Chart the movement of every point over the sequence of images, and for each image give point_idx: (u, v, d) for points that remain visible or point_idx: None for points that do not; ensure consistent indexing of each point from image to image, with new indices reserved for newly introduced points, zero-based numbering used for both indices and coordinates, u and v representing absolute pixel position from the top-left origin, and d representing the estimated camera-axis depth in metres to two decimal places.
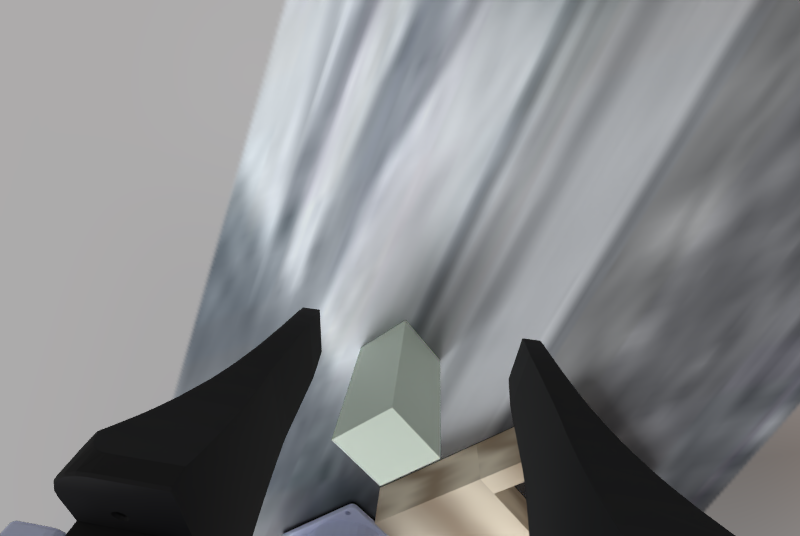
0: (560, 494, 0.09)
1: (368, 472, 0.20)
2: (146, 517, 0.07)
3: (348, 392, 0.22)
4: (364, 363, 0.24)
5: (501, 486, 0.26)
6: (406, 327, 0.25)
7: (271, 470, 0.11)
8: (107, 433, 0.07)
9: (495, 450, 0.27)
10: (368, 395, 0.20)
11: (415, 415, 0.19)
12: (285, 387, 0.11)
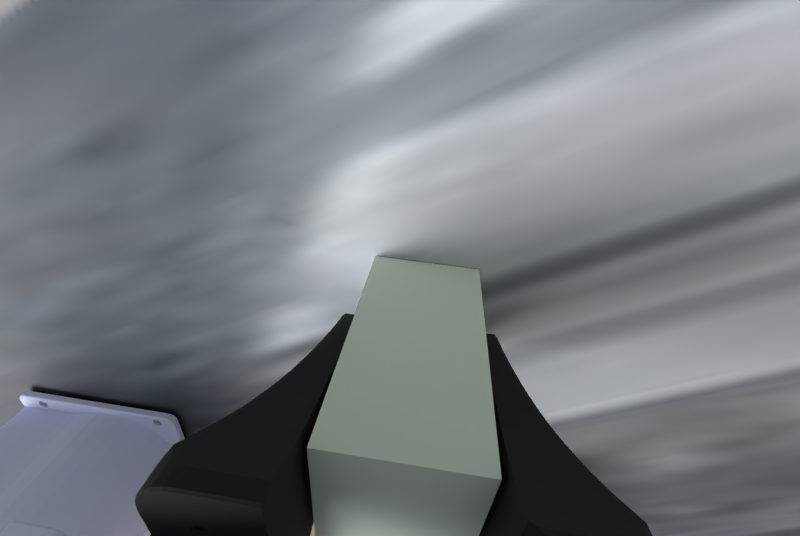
0: None
1: (318, 516, 0.09)
2: (227, 532, 0.07)
3: (352, 338, 0.11)
4: (390, 297, 0.12)
5: None
6: None
7: None
8: (184, 446, 0.07)
9: None
10: (414, 387, 0.09)
11: None
12: None
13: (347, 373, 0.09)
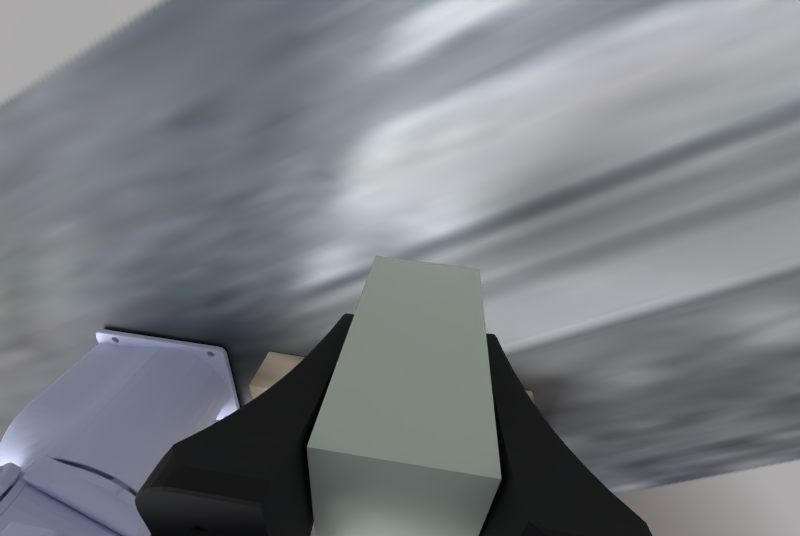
0: None
1: (318, 515, 0.09)
2: (227, 532, 0.07)
3: (352, 337, 0.11)
4: (390, 296, 0.12)
5: None
6: None
7: None
8: (184, 446, 0.07)
9: None
10: (414, 386, 0.09)
11: None
12: None
13: (347, 372, 0.09)
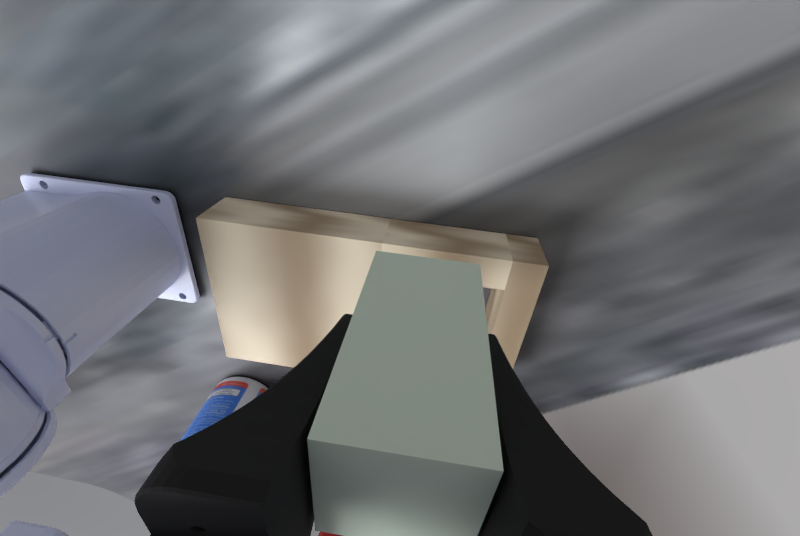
0: None
1: (318, 509, 0.09)
2: (227, 532, 0.07)
3: (353, 331, 0.10)
4: (391, 291, 0.12)
5: None
6: None
7: None
8: (184, 446, 0.07)
9: (415, 232, 0.20)
10: (415, 379, 0.09)
11: None
12: None
13: (348, 365, 0.09)
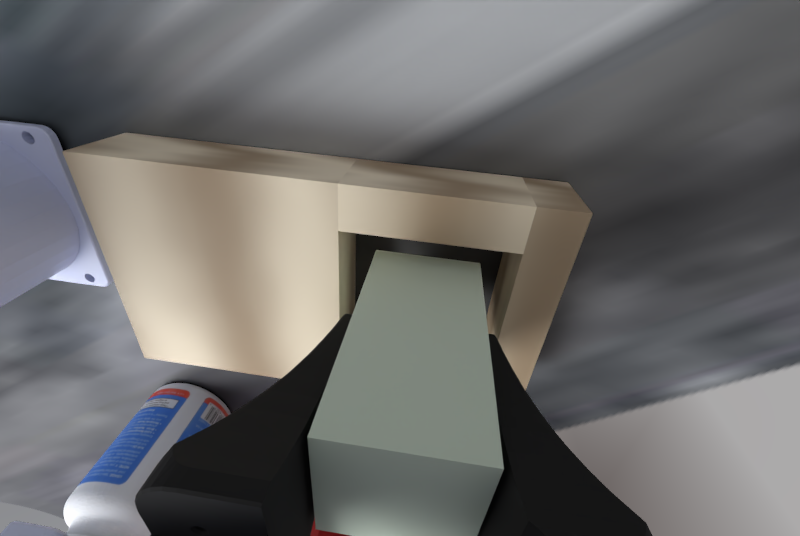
0: None
1: (318, 508, 0.09)
2: (227, 532, 0.07)
3: (353, 329, 0.10)
4: (391, 289, 0.12)
5: (362, 224, 0.13)
6: None
7: None
8: (184, 445, 0.07)
9: (390, 172, 0.14)
10: (415, 377, 0.09)
11: None
12: None
13: (348, 364, 0.09)
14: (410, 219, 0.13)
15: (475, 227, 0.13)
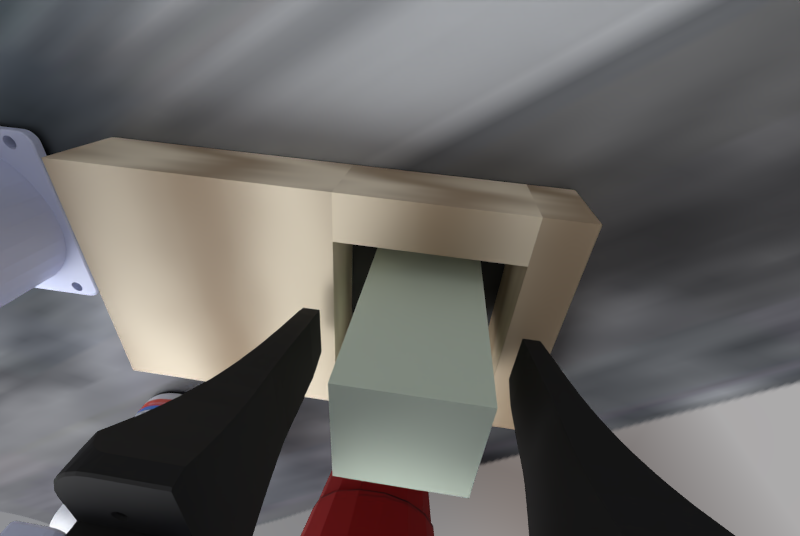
0: (560, 494, 0.09)
1: (335, 453, 0.10)
2: (146, 517, 0.07)
3: (364, 300, 0.12)
4: (397, 267, 0.13)
5: (357, 234, 0.12)
6: None
7: (271, 470, 0.11)
8: (107, 433, 0.07)
9: (387, 180, 0.13)
10: (420, 338, 0.10)
11: None
12: (285, 387, 0.11)
13: (360, 327, 0.11)
14: (408, 230, 0.12)
15: (477, 238, 0.12)
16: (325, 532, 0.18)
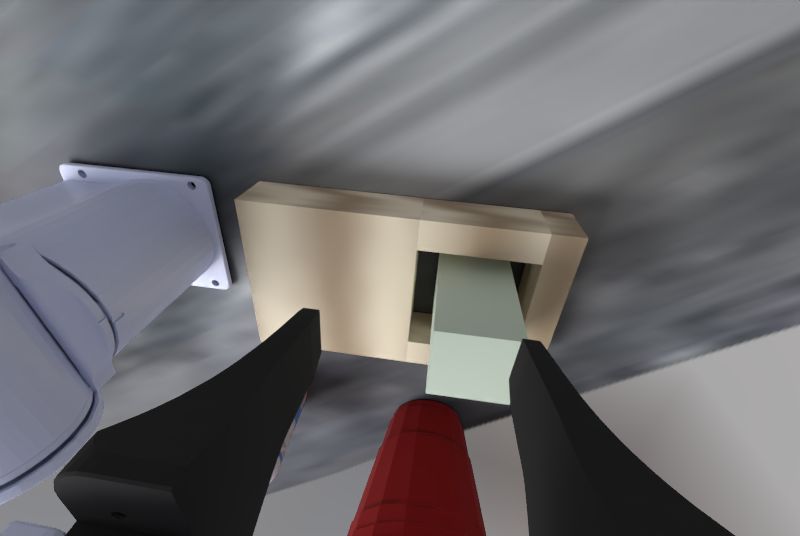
0: (560, 494, 0.09)
1: (430, 377, 0.17)
2: (146, 517, 0.07)
3: (440, 287, 0.19)
4: (456, 266, 0.21)
5: (433, 245, 0.19)
6: None
7: (271, 470, 0.11)
8: (107, 433, 0.07)
9: (450, 209, 0.20)
10: (479, 308, 0.17)
11: None
12: (285, 387, 0.11)
13: (443, 302, 0.18)
14: (467, 242, 0.19)
15: (510, 247, 0.19)
16: (396, 457, 0.25)
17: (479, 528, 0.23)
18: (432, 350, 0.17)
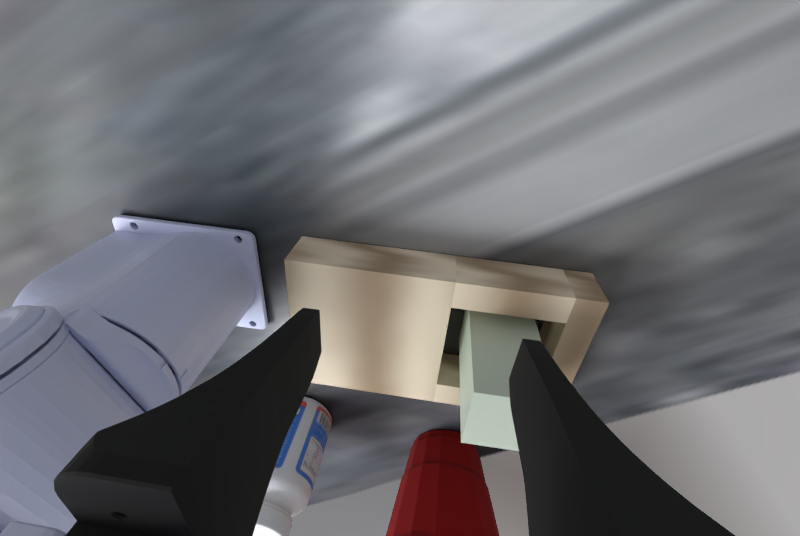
0: (560, 494, 0.09)
1: (466, 429, 0.19)
2: (146, 517, 0.07)
3: (474, 343, 0.21)
4: (485, 320, 0.22)
5: (467, 304, 0.21)
6: None
7: (271, 470, 0.11)
8: (107, 433, 0.07)
9: (481, 269, 0.22)
10: (512, 367, 0.19)
11: None
12: (285, 387, 0.11)
13: (478, 361, 0.20)
14: (498, 302, 0.21)
15: (538, 308, 0.21)
16: (421, 489, 0.27)
17: None
18: (470, 407, 0.18)
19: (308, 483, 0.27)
